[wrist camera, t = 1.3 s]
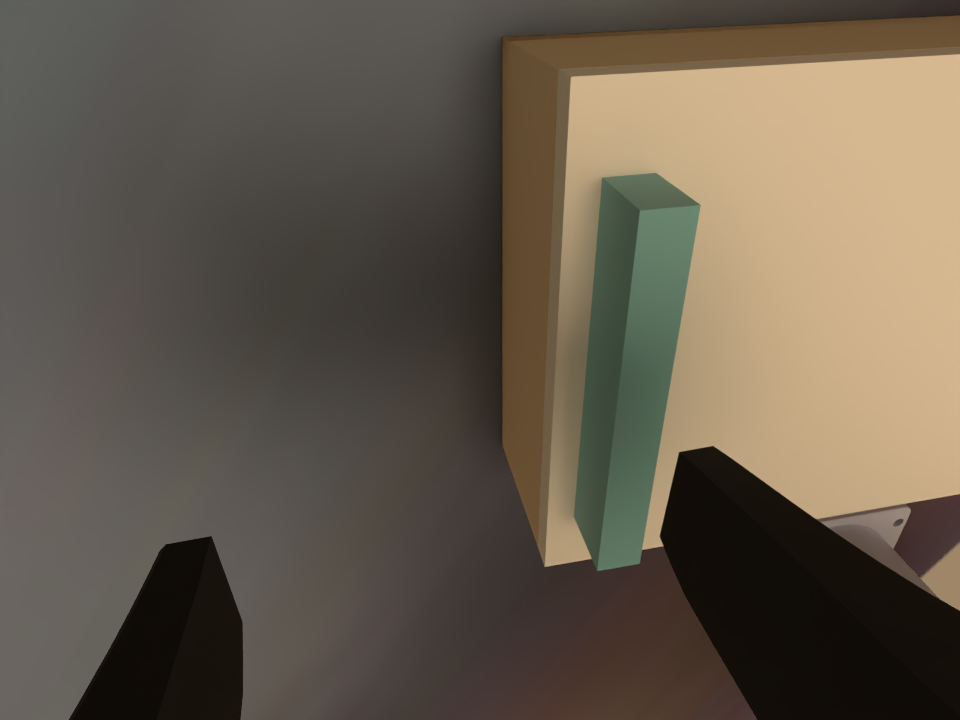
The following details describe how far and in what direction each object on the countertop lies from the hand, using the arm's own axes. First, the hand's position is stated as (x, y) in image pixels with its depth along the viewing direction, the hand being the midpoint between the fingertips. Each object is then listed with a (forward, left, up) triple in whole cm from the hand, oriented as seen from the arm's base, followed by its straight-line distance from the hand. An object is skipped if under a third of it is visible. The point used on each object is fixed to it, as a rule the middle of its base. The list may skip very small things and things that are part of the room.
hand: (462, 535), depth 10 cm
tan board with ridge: (-1, -14, -8) cm, 16 cm away
